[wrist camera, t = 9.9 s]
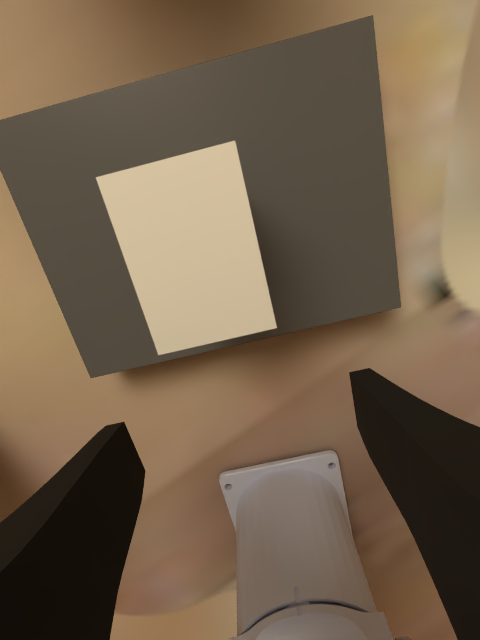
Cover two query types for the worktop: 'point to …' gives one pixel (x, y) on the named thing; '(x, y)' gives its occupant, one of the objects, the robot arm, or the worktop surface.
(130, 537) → the robot arm
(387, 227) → the socket block
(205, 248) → the plug
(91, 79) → the worktop surface
